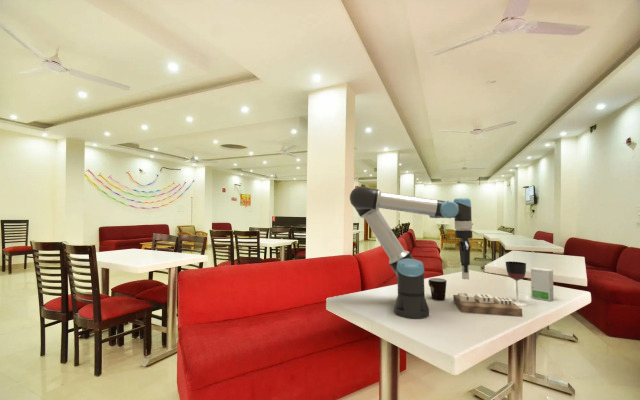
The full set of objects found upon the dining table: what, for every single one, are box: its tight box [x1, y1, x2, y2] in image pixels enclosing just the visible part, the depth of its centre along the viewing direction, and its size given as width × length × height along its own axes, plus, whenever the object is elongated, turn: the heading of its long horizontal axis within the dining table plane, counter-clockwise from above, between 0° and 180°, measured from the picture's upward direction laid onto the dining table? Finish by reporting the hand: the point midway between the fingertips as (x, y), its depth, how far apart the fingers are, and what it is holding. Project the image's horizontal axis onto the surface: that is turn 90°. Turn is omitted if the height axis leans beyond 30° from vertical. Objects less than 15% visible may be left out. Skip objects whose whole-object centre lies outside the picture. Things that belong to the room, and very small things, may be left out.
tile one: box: [457, 292, 475, 302], centre depth 137 cm, size 6×6×3 cm
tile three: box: [493, 296, 514, 305], centre depth 133 cm, size 6×6×3 cm
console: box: [453, 294, 523, 318], centre depth 135 cm, size 24×18×3 cm
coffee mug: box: [427, 277, 447, 302], centre depth 152 cm, size 12×9×10 cm
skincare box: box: [530, 267, 554, 302], centre depth 150 cm, size 8×7×16 cm
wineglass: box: [505, 260, 528, 307], centre depth 142 cm, size 8×9×20 cm
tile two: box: [475, 293, 494, 303], centre depth 135 cm, size 6×6×3 cm
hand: (465, 278), depth 137 cm, fingers closed
